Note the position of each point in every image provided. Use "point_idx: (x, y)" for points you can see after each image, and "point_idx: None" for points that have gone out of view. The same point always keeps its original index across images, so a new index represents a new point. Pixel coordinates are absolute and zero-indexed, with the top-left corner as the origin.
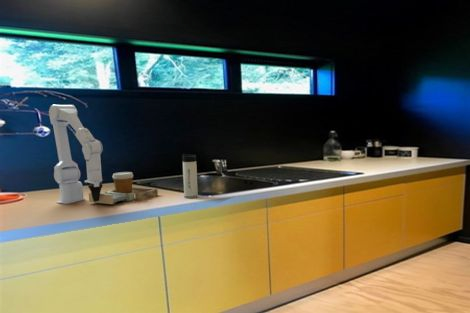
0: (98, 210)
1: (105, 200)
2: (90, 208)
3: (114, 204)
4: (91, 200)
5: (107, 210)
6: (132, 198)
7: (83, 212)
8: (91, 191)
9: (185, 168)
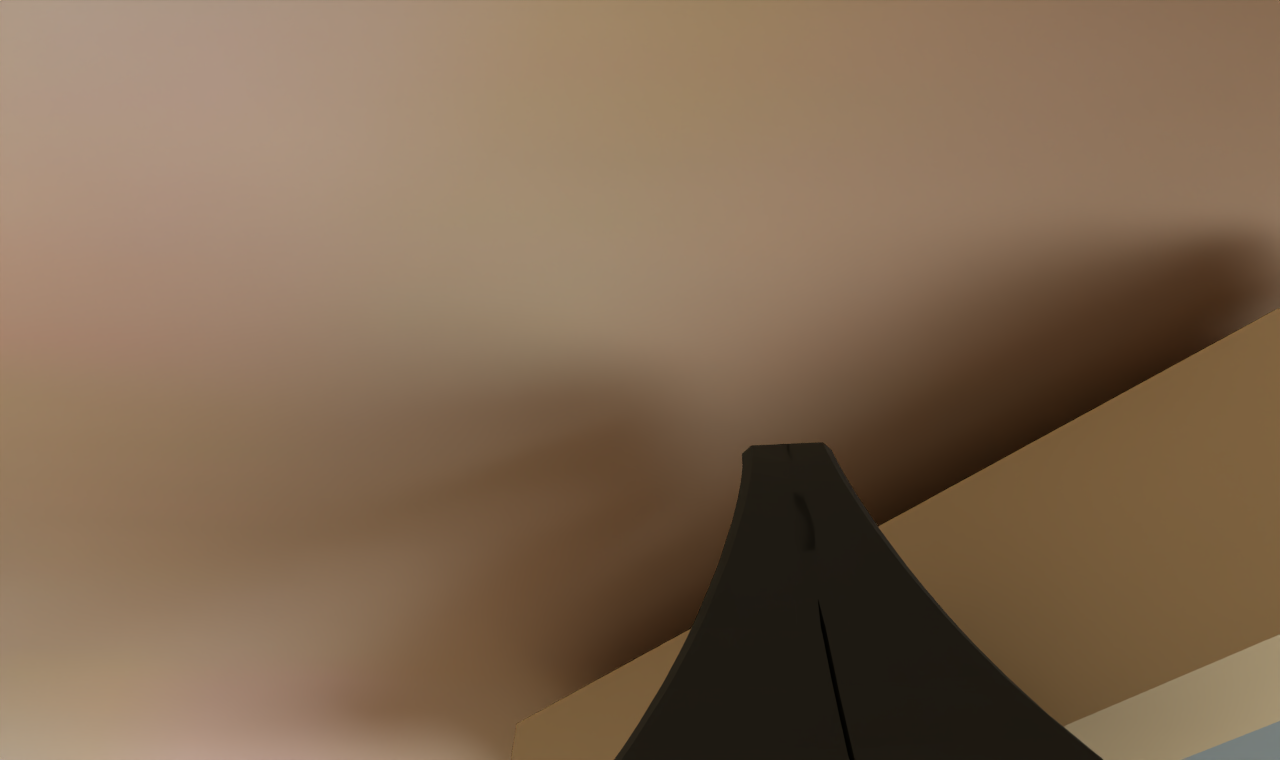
0: (203, 422)
1: None
2: (573, 238)
3: None
4: (1275, 356)
5: (138, 586)
6: None
7: (46, 27)
8: (628, 745)
9: None
